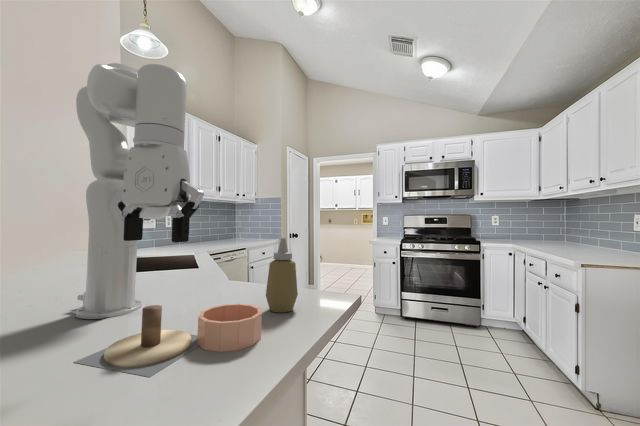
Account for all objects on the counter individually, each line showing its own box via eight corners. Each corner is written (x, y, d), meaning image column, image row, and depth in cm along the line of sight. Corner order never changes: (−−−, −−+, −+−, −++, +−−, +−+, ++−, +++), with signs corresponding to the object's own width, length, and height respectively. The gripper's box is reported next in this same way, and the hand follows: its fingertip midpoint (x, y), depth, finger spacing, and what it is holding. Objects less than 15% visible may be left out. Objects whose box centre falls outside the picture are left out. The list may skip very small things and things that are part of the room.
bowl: (184, 348, 48) (185, 318, 48) (221, 326, 59) (222, 302, 59) (241, 357, 45) (242, 325, 46) (270, 332, 56) (270, 306, 56)
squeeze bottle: (292, 316, 66) (293, 239, 67) (259, 313, 68) (262, 238, 69) (301, 306, 74) (302, 238, 75) (272, 304, 76) (274, 237, 76)
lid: (82, 360, 42) (85, 315, 43) (151, 331, 54) (152, 295, 55) (149, 373, 39) (151, 324, 40) (206, 338, 51) (207, 301, 52)
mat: (73, 364, 42) (73, 362, 42) (151, 331, 55) (151, 328, 55) (149, 379, 38) (149, 376, 38) (212, 339, 52) (212, 337, 52)
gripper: (99, 138, 47) (94, 240, 46) (187, 131, 43) (183, 244, 42) (138, 150, 54) (134, 239, 53) (217, 145, 50) (214, 241, 49)
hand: (156, 241), depth 48 cm, fingers open, 9 cm apart
